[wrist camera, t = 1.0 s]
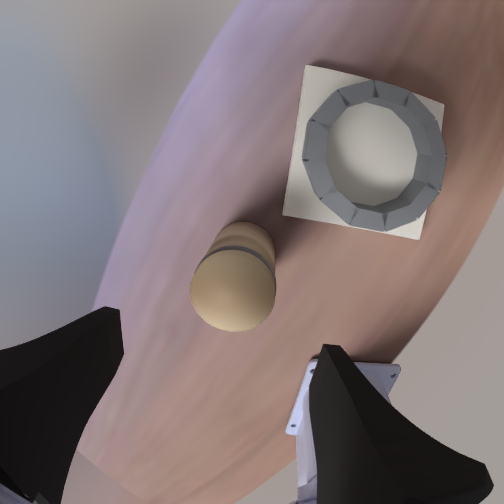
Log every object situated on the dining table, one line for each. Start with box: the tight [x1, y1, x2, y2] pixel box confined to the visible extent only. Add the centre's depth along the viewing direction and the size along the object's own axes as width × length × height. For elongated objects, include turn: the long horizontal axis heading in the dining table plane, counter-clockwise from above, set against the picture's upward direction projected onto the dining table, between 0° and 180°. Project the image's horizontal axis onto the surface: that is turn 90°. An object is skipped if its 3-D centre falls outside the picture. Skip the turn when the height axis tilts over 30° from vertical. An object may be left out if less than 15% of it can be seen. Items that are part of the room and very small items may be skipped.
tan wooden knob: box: [190, 222, 276, 331], centre depth 17 cm, size 4×4×6 cm
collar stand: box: [282, 65, 447, 240], centre depth 16 cm, size 9×9×3 cm
